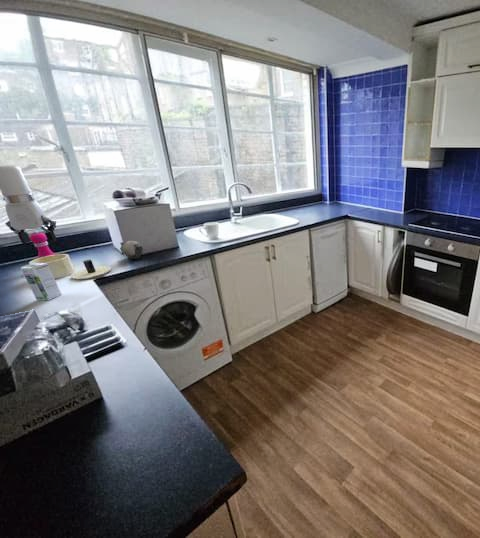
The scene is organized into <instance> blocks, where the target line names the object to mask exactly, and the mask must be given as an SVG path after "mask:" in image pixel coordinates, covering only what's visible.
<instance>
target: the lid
mask: <svg viewBox="0 0 480 538" xmlns="http://www.w3.org/2000/svg"><path fill="white" fill-rule="evenodd" d="M82 263H83V265H84V267H85V269H82V270H80V271H78V272H74V273H73V275H71V278H72V279H73V280H86V279H92V278H96V277H100V276H103V275H105V274H108V273H109V272H110V271H111V270H112V267H111V266H105V265H104V266H95V265H94V263H93V261H92V259H85V260H83V261H82Z"/></svg>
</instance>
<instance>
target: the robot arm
mask: <svg viewBox="0 0 480 538" xmlns="http://www.w3.org/2000/svg"><path fill="white" fill-rule="evenodd" d="M0 192H1V195H2V196H3V197H2V200H3V201H5V202H6V203H5V204H4V208H5V212H6V216H7V218H8V221H6V222H5V223H4V224H5V226H6V227H7V228H8V229H9V230H11V231H12V232H14V234H15V235H17V236H18V238H19V240H20V241H21V244H24V245H25V244H27V243H28V244H29V243H32V242H31V240H30V235H29V234H28V232H27V231H26V230H38V229H41V230H42V231H44V235H46V237H47V242H48V243H53V242H56V241H57V240H58V239H57V236H56V234H55V231H56V230H55V229H56V227H57V220H55V219H53V218H50V217H47V215H46V213H45V211H44V210H43V208H42V206H41V205H40V204H39V202H38V201H36V200H35V197H34V195H33V193H32V190H31V188H30V186H29V183H28V181H27V180H26V177H25V175H24V173H23V171H22V168H20V167H19V166H18V165H14V164H11V165H10V164H9V165H8V164H5V165H4V164H3V165H0Z"/></svg>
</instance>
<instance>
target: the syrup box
mask: <svg viewBox="0 0 480 538" xmlns="http://www.w3.org/2000/svg"><path fill="white" fill-rule="evenodd" d="M20 270H21V272H22V275H23V276H24V278H25V280H26V282H27V284H28V285H29V288H30V290H31V293H32V294H33V296H34V298H35V300H36V301H45V302H48V301H50V300H53V299H54V298H58V297H60V296H62V295H63V294H62V292H61V290H60V287H59V286H58V283H57V281H56V279H54V277H53V275H52V272H51V270H50V268H49V266H48V264H47V263H34V264H26V265H24V266H21V267H20Z"/></svg>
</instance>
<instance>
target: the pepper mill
mask: <svg viewBox="0 0 480 538" xmlns="http://www.w3.org/2000/svg"><path fill="white" fill-rule="evenodd" d="M29 238H30V240H31V242H30V243H33V245H34V247H35V248H36V249H37V251H38V255H37V258H41V257H45V256H50V255H56V253H55V252H53V251H52V250H51V249H50V247H49V242H48V239H47V237H46V235H45V233H42V232H38V229H33V230H32V234H30V235H29Z"/></svg>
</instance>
